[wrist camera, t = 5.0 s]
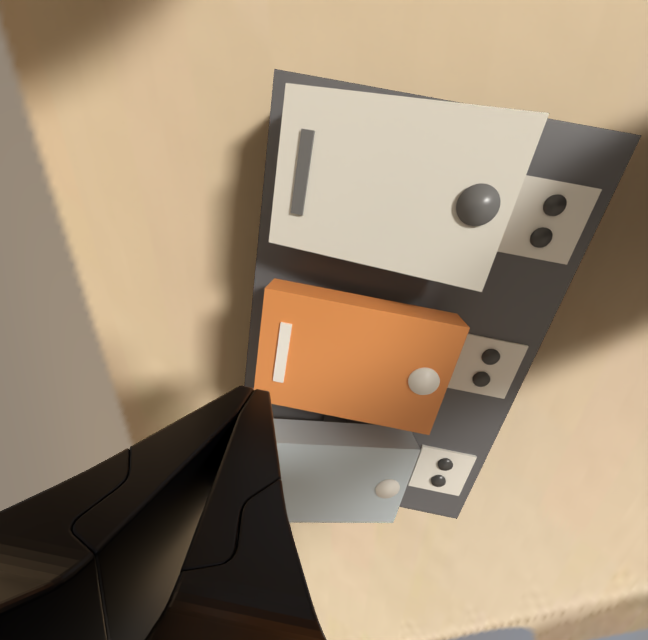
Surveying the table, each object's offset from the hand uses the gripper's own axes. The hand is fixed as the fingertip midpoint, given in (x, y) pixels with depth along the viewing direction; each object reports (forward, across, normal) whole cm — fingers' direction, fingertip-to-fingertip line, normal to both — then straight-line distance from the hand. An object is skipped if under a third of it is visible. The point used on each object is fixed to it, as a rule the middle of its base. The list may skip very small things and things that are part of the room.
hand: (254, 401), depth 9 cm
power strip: (+8, -4, 0) cm, 9 cm away
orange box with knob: (+4, -3, 0) cm, 5 cm away
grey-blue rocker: (+4, -3, +6) cm, 8 cm away
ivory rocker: (+4, -3, -6) cm, 8 cm away
